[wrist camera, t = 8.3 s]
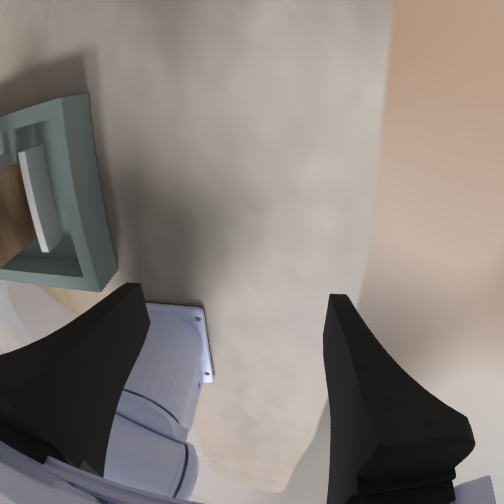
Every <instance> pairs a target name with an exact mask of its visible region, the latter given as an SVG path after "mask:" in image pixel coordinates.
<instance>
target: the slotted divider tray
mask: <svg viewBox="0 0 504 504" xmlns="http://www.w3.org/2000/svg"><path fill="white" fill-rule="evenodd" d="M18 162H20V167H21V172H22V177H23V182H24V187H25V191H26V196H27V200H28V204H29V208H30V212H31V216H32V220H33V223H34V227H35V230H36V234H37V238H36V239H34V240H33V241H32V242H31V243H29V244H28V245H27V246H26V247H25V248H24V249H22V250H21V251H20V252H19V253H18V254H17V255H15V256H14V257H13V258H12V259H11V260H10V261H9V262H7V263H6V264H5V265H4V266H3V267H2V268H1V269H0V279H1V280H7V281H15V282H21V283H29V284H35V285H43V286H50V287H58V288H66V289H75V290H84V291H93V292H102V290H103V289H104V288H105V286H106V285H107V284H108V282H109V281H110V280H111V278H112V277H113V276H114V274H115V273H116V272H117V270H118V266H117V262H116V258H115V254H114V250H113V246H112V241H111V237H110V232H109V228H108V223H107V218H106V213H105V208H104V203H103V198H102V192H101V186H100V180H99V174H98V168H97V161H96V154H95V146H94V139H93V130H92V121H91V111H90V99H89V93H85V94H79V95H73V96H67V97H61V98H58V99H54V100H51V101H47V102H44V103H41V104H37V105H34V106H31V107H28V108H25V109H22V110H19V111H16V112H13V113H11V114H8V115H5V116H2V117H0V171H1V170H3V169H5V168H7V167H9V166H11V165H13V164H15V163H18Z"/></svg>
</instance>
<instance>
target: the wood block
mask: <svg viewBox="0 0 504 504" xmlns="http://www.w3.org/2000/svg"><path fill="white" fill-rule="evenodd" d="M36 238H37V234H36V230H35V227H34V223H33V220H32V216H31V212H30V208H29V204H28V200H27V196H26V191H25V187H24V182H23V177H22V172H21V167H20V162H18V163H15V164H13V165H11V166H9V167H7V168H5V169H3V170H1V171H0V269H1V268H2V267H3V266H4V265H5V264H6V263H7V262H9V261H10V260H11V259H12V258H13V257H14V256H15V255H17V254H18V253H19V252H20V251H21V250H22V249H24V248H25V247H26V246H27V245H28V244H29V243H31V242H32V241H33V240H34V239H36Z"/></svg>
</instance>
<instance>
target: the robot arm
mask: <svg viewBox="0 0 504 504" xmlns="http://www.w3.org/2000/svg"><path fill="white" fill-rule="evenodd" d="M197 317H199V318H200V319H199V318H197ZM323 357H324V366H325V373H326V381H327V388H328V396H329V404H330V416H331V441H330V468H329V484H328V495H327V504H496V501H495V496H494V491H493V486H492V482H491V477H490V476H485V477H482V478H478V479H475V480H472V481H469V482H465V483H463V484H460V485H458V486H455V487H454V488H453V482H452V480H453V479H455V478H456V473H455V467H456V466H457V465H458V464H459V463H460V462H462V461H463V460H464V459H465V458H466V457H467V456H468V455H469V454H470V453H471V452H472V450H473V449H474V447H475V440H474V437H473V432H472V429H471V426H470V424H469V421H468V418H467V417H466V416H464V415H463V414H461V413H459V412H457V411H456V410H454V409H453V408H451V407H449V406H448V405H446V404H445V403H443V402H442V401H440V400H439V399H438V398H436V397H435V396H433V395H432V394H431V393H429V392H428V391H427V390H426V389H424V388H423V387H422V386H421V385H420V384H418V383H417V382H416V381H415V380H414V379H413V378H412V377H410V376H409V375H408V374H407V373H406V372H405V371H404V370H403V369H402V368H401V367H400V366H399V365H398V364H397V363H396V362H395V361H394V359H393V358H392V357H391V356H390V355H389V354H388V353H387V351H386V350H385V349H384V348H383V347H382V345H381V344H380V343H379V341H378V340H377V339H376V338H375V336H374V335H373V333H372V332H371V331H370V329H369V328H368V327H367V325H366V324H365V322H364V321H363V319H362V318H361V316H360V315H359V313H358V312H357V310H356V309H355V307H354V305H353V304H352V302H351V300H350V299H349V297H348V296H347V295H346V294H330V295H329V302H328V308H327V314H326V320H325V326H324V332H323ZM213 380H214V376H213V370H212V363H211V357H210V350H209V344H208V337H207V330H206V323H205V316H204V311H203V310H202V309H201V308H199V307H190V306H177V305H165V304H153V303H145V300H144V296H143V292H142V288H141V284H140V283H128V282H127V283H125V284H124V285H122V286H121V287H119V288H118V289H116V290H115V291H113V292H112V293H111V294H109V295H108V296H107V297H105V298H104V299H103V300H101V301H100V302H98V303H97V304H96V305H94V306H93V307H92V308H90V309H89V310H88V311H86V312H85V313H83V314H82V315H80V316H79V317H77V318H76V319H74V320H73V321H71V322H70V323H68V324H67V325H66V326H64V327H62V328H60V329H59V330H57V331H55V332H53V333H52V334H50V335H48V336H46V337H44V338H42V339H40V340H38V341H36V342H33V343H31V344H29V345H27V346H25V347H22V348H20V349H17V350H14V351H11V352H9V353H5V354H2V355H0V493H1V494H3V495H4V496H5V497H7V498H8V499H10V500H11V501H13V502H14V503H16V504H204V503H198V502H192V501H188V499H189V497H190V496H191V493H192V491H193V489H194V486H195V483H196V479H197V475H198V468H199V462H198V457H197V454H196V450H195V448H194V446H193V445H192V444H190V443H188V442H186V439H187V435H188V433H189V431H190V429H191V427H192V423H193V419H194V415H195V411H196V407H197V403H198V399H199V396H200V392H201V388H202V384H203V382H206V383H211V382H213Z"/></svg>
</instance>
